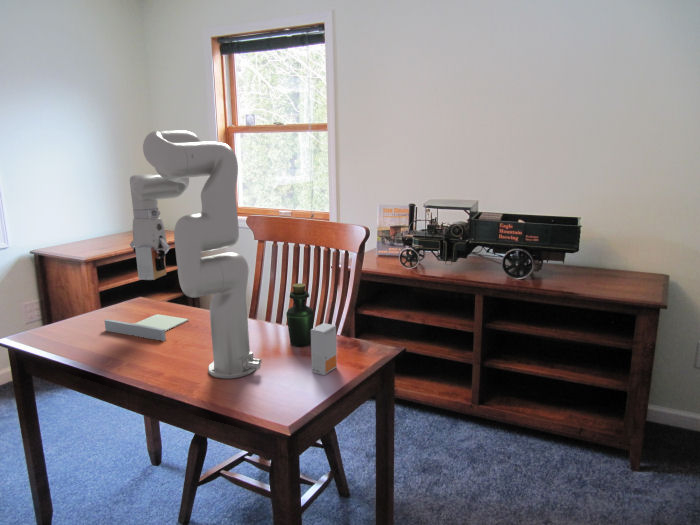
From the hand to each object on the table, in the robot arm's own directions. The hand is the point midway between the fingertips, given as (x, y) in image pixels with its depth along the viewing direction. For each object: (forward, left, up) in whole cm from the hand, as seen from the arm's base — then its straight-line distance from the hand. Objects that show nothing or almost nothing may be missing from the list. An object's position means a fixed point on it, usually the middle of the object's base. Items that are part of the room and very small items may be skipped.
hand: (152, 268), depth 178 cm
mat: (0, 0, -19) cm, 19 cm away
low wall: (0, +10, -19) cm, 22 cm away
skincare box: (-67, +10, -19) cm, 70 cm away
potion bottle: (-52, -4, -19) cm, 56 cm away
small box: (0, 0, -3) cm, 3 cm away
